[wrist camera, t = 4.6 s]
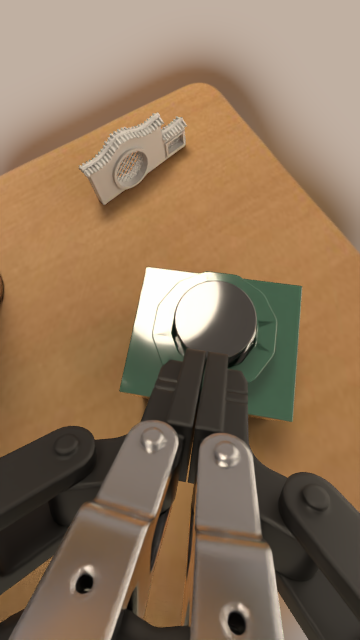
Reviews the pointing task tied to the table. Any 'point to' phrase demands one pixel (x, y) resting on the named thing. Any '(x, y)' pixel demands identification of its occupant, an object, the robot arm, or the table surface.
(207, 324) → the dark push button
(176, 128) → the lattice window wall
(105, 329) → the table surface
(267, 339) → the dispenser
